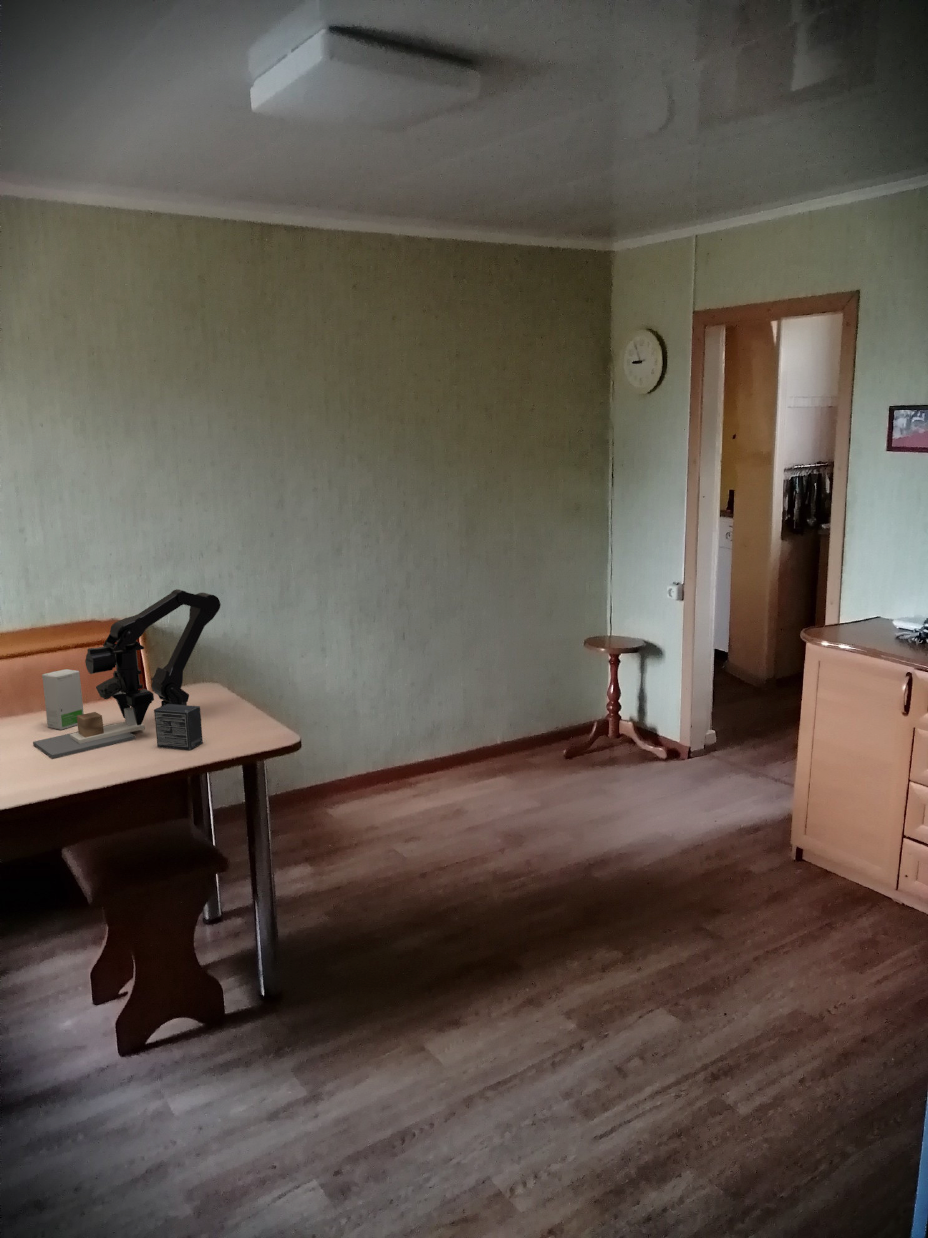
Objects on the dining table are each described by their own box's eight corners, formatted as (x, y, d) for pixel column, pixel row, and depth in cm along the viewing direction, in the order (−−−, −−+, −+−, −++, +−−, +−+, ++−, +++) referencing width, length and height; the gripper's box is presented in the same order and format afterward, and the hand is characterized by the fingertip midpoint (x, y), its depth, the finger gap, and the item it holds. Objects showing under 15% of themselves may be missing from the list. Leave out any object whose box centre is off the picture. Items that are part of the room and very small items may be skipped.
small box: (204, 743, 258) (201, 705, 256) (190, 751, 252) (187, 712, 250) (171, 739, 261) (167, 702, 259) (156, 747, 255) (152, 709, 253)
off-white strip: (134, 723, 273) (132, 704, 272) (144, 728, 268) (143, 709, 266) (70, 737, 261) (68, 718, 260) (79, 743, 256) (77, 723, 255)
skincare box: (60, 730, 271) (54, 677, 268) (46, 727, 274) (39, 674, 271) (86, 722, 278) (80, 670, 275) (71, 719, 281) (65, 667, 278)
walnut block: (96, 729, 265) (95, 711, 264) (103, 733, 261) (102, 715, 260) (78, 733, 262) (76, 715, 261) (85, 737, 258) (83, 719, 257)
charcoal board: (113, 727, 273) (113, 723, 273) (135, 739, 262) (135, 735, 262) (33, 745, 259) (32, 741, 259) (52, 758, 248) (52, 755, 248)
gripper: (85, 666, 267) (90, 720, 270) (111, 678, 253) (117, 735, 256) (124, 659, 274) (129, 712, 277) (152, 671, 261) (157, 726, 264)
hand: (132, 721), depth 269 cm, fingers open, 9 cm apart
